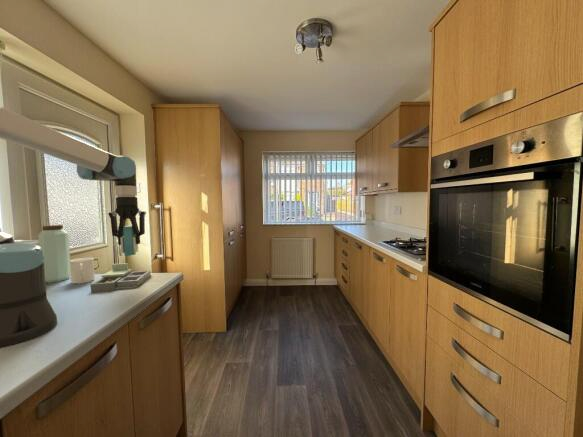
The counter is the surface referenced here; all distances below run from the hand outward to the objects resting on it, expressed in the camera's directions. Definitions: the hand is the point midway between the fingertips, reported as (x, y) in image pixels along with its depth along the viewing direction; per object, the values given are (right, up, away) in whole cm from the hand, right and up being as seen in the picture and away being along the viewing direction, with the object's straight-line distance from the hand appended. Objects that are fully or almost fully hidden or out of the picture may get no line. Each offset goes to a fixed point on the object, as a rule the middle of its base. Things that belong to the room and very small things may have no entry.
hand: (129, 252), depth 106 cm
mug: (-24, -14, +6) cm, 29 cm away
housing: (-4, -14, +3) cm, 15 cm away
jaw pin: (0, -1, 0) cm, 1 cm away
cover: (-9, -10, +6) cm, 15 cm away
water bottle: (-40, -14, +9) cm, 43 cm away
